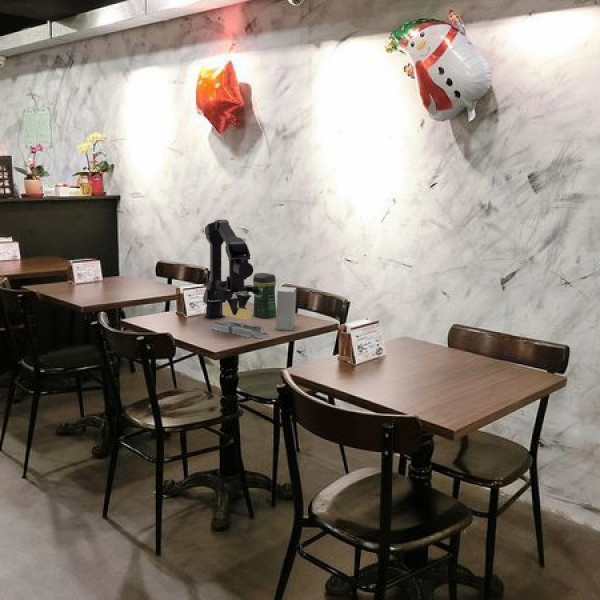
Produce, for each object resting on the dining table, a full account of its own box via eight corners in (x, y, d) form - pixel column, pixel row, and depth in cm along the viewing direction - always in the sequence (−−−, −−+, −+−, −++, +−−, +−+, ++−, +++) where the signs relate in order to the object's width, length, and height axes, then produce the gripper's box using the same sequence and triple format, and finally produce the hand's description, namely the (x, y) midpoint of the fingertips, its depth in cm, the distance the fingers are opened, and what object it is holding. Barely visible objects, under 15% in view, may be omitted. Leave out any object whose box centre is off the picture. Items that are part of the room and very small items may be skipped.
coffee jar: (279, 316, 280) (279, 273, 276) (265, 319, 274) (265, 275, 271) (264, 313, 286) (263, 270, 283) (250, 315, 281) (249, 272, 277)
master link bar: (229, 313, 257) (228, 303, 256) (251, 318, 249) (251, 308, 249) (223, 315, 255) (223, 305, 254) (245, 319, 247) (245, 309, 246)
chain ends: (227, 325, 262) (227, 319, 262) (271, 335, 247) (271, 328, 247) (212, 329, 256) (212, 322, 256) (256, 339, 241) (256, 332, 241)
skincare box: (279, 325, 264) (279, 286, 261) (296, 325, 263) (297, 286, 260) (275, 329, 256) (275, 290, 253) (293, 330, 255) (293, 290, 252)
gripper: (239, 269, 261) (239, 307, 264) (203, 274, 247) (204, 315, 250) (259, 271, 254) (259, 311, 257) (224, 277, 240) (225, 319, 243)
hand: (237, 314), depth 252 cm, fingers closed on master link bar, 3 cm apart
